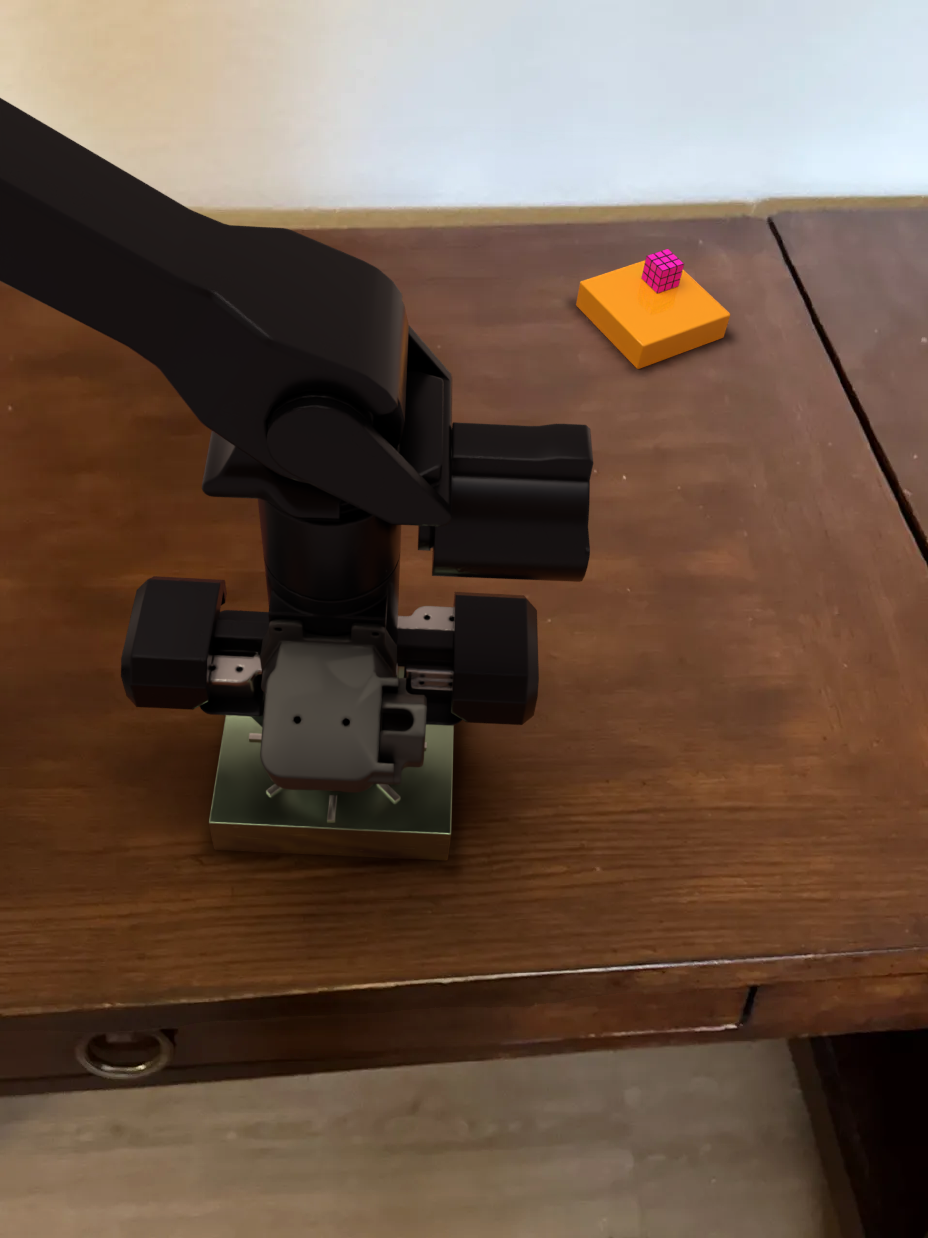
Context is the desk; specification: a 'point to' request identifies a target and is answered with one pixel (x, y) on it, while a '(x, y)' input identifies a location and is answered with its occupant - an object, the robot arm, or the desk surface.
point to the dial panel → (331, 805)
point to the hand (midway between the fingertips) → (338, 742)
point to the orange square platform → (652, 309)
